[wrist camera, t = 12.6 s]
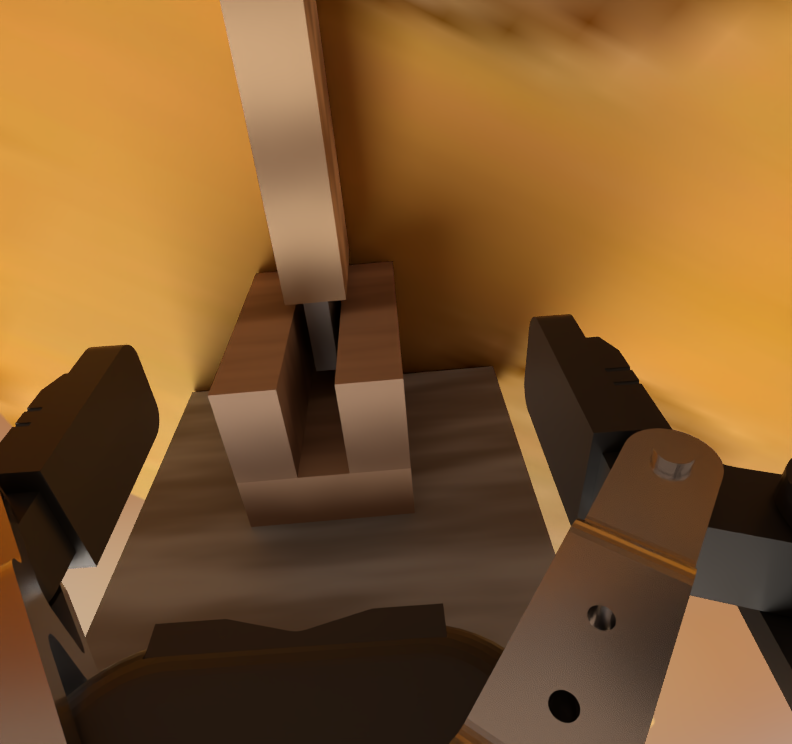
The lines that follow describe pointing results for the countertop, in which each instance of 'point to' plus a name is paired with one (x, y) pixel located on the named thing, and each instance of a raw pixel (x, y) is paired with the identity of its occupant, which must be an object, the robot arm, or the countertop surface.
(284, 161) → the rail
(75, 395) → the robot arm
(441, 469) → the slotted block base plate
